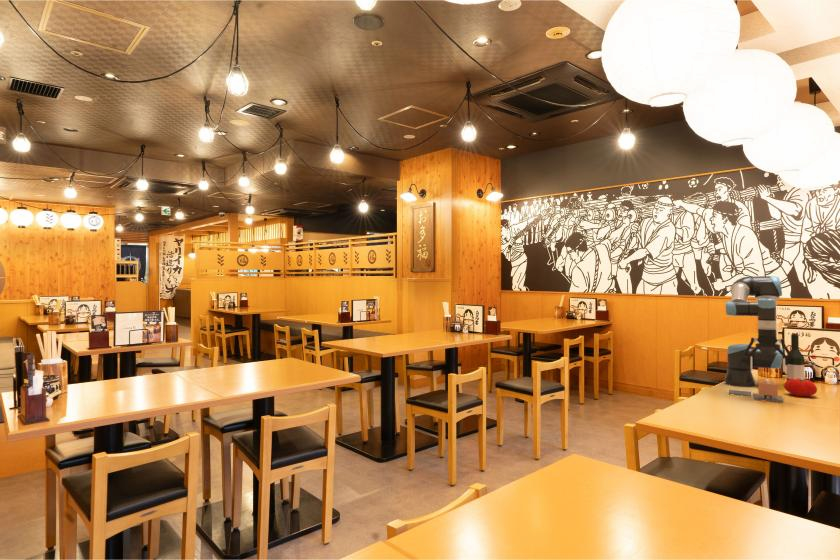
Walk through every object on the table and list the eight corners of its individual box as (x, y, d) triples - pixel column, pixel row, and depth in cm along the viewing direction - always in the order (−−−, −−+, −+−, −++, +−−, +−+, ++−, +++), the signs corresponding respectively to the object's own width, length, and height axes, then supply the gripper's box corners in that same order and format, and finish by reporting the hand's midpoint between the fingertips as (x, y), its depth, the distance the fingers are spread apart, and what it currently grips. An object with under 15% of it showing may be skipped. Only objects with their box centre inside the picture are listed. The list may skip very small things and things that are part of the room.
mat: (728, 390, 270) (728, 389, 270) (750, 392, 265) (750, 391, 265) (728, 394, 262) (728, 393, 262) (751, 396, 257) (751, 395, 257)
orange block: (758, 391, 256) (758, 378, 257) (776, 393, 252) (776, 379, 252) (759, 394, 250) (759, 380, 250) (777, 396, 246) (777, 382, 246)
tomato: (819, 395, 258) (819, 378, 258) (815, 399, 249) (815, 382, 249) (787, 391, 268) (787, 375, 268) (782, 395, 259) (782, 378, 259)
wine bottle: (808, 387, 278) (807, 334, 278) (793, 387, 278) (792, 334, 278) (797, 384, 286) (796, 332, 286) (782, 384, 286) (782, 332, 286)
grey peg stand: (753, 395, 260) (753, 381, 260) (781, 397, 253) (781, 384, 253) (754, 399, 249) (754, 386, 249) (783, 402, 243) (783, 388, 243)
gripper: (738, 328, 255) (738, 369, 255) (798, 330, 242) (799, 373, 241) (737, 327, 261) (738, 367, 261) (796, 329, 248) (797, 371, 247)
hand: (767, 370), depth 251 cm, fingers open, 13 cm apart
